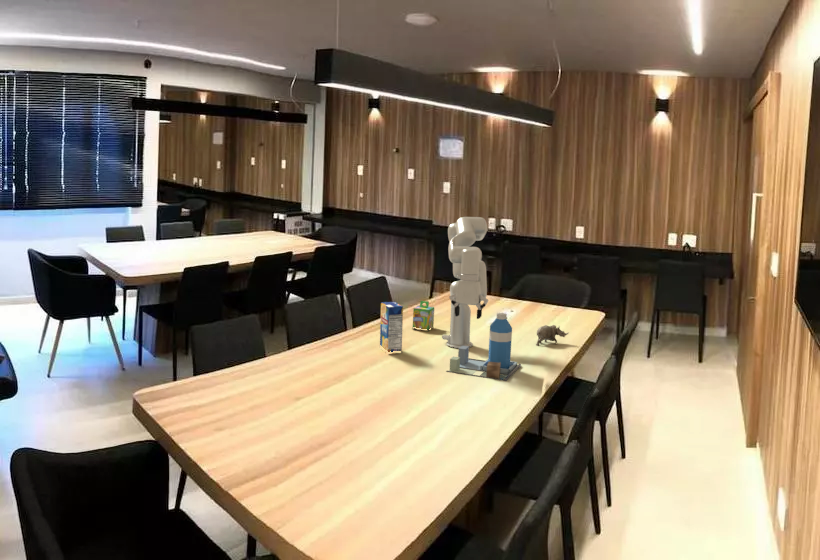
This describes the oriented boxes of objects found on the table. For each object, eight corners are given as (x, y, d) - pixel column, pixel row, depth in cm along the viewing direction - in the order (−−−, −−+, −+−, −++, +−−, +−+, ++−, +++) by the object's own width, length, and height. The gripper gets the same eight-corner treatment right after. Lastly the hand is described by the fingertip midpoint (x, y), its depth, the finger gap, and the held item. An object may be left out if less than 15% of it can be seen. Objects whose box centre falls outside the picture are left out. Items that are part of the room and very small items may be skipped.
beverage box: (387, 354, 308) (388, 307, 305) (379, 348, 318) (380, 302, 315) (401, 353, 311) (403, 306, 307) (393, 347, 321) (394, 301, 317)
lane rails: (445, 374, 281) (446, 369, 281) (463, 360, 302) (464, 355, 302) (506, 384, 271) (506, 378, 271) (520, 369, 292) (521, 363, 291)
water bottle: (495, 375, 282) (498, 317, 277) (483, 369, 290) (486, 312, 286) (514, 373, 286) (517, 315, 282) (501, 367, 294) (504, 310, 290)
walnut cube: (486, 376, 276) (487, 364, 275) (487, 373, 280) (488, 361, 280) (498, 378, 274) (499, 366, 274) (500, 374, 279) (500, 362, 278)
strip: (448, 373, 282) (448, 359, 281) (453, 369, 288) (453, 355, 287) (472, 377, 278) (472, 362, 277) (476, 373, 283) (477, 359, 282)
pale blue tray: (454, 368, 289) (455, 350, 288) (464, 361, 300) (464, 343, 299) (509, 376, 280) (510, 358, 278) (517, 368, 291) (518, 350, 290)
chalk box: (412, 329, 355) (413, 302, 353) (417, 326, 364) (418, 299, 362) (428, 331, 353) (429, 303, 350) (434, 327, 361) (435, 300, 359)
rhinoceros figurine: (525, 337, 336) (543, 313, 336) (543, 351, 342) (561, 327, 342) (533, 342, 329) (551, 318, 329) (551, 356, 335) (569, 332, 335)
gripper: (447, 277, 289) (445, 316, 291) (486, 280, 282) (484, 320, 284) (453, 275, 296) (452, 313, 298) (491, 278, 289) (489, 317, 291)
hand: (467, 317), depth 291 cm, fingers open, 9 cm apart
